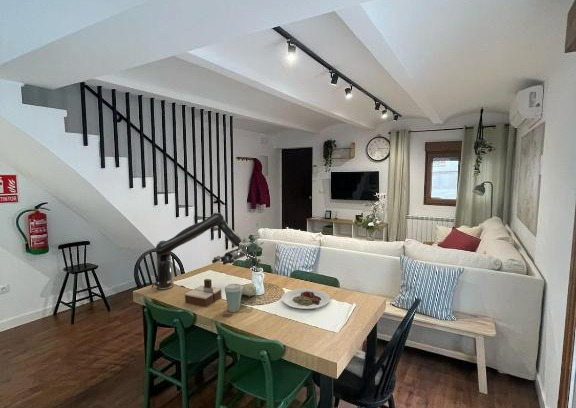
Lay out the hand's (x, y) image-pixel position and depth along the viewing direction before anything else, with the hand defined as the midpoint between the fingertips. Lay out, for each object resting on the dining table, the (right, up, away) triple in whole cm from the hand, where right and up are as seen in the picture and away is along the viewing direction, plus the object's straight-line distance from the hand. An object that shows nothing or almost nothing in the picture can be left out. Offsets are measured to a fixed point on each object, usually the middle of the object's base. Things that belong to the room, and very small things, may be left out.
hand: (217, 262), depth 205 cm
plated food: (+57, -22, -10) cm, 62 cm away
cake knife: (-4, -23, -8) cm, 24 cm away
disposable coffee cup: (+14, -24, -21) cm, 35 cm away
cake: (-8, -23, -6) cm, 25 cm away
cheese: (+22, -21, +3) cm, 31 cm away
